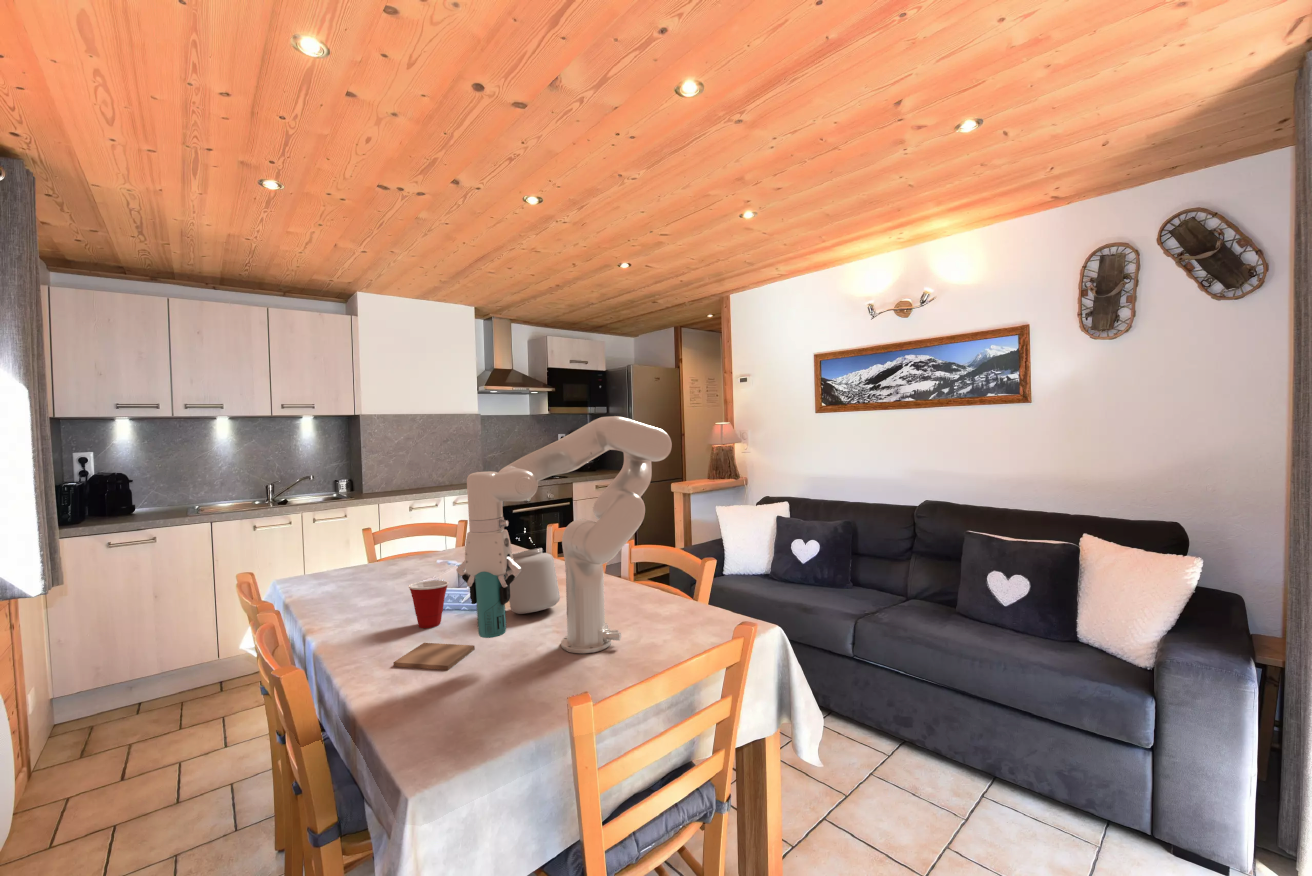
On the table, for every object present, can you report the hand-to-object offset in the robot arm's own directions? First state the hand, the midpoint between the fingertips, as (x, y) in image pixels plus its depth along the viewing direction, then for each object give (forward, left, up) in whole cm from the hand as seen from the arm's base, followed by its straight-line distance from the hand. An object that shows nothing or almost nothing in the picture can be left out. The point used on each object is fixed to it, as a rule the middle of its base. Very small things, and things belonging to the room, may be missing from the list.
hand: (490, 601), depth 129 cm
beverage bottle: (0, 0, -9) cm, 9 cm away
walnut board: (+16, -3, -15) cm, 23 cm away
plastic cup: (+31, -24, -15) cm, 42 cm away
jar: (+7, -39, -15) cm, 43 cm away
